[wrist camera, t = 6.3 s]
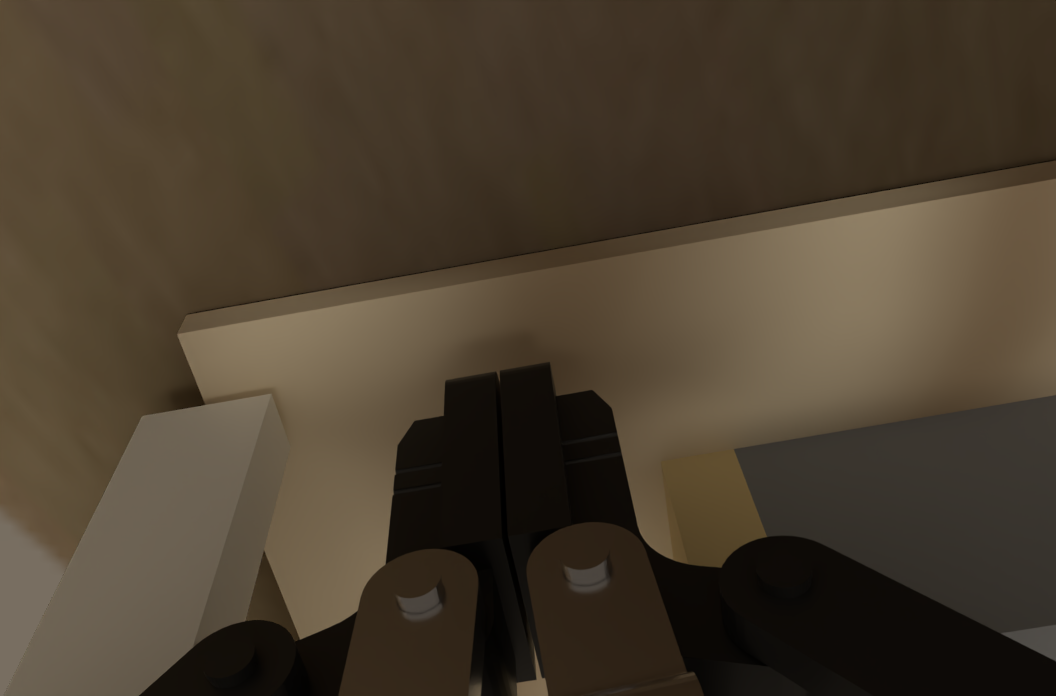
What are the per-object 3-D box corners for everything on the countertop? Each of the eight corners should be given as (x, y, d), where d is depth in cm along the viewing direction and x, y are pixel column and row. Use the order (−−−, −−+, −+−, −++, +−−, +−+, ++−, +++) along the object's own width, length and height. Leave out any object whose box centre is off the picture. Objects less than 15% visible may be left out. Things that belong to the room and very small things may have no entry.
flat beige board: (1752, 37, 14) (2129, 119, 11) (1505, 594, 20) (1709, 760, 17) (186, 315, 15) (110, 465, 12) (366, 772, 21) (347, 960, 18)
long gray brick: (1296, 354, 16) (1558, 545, 12) (1254, 517, 18) (1474, 730, 14) (660, 461, 17) (719, 677, 13) (680, 610, 18) (736, 841, 14)
